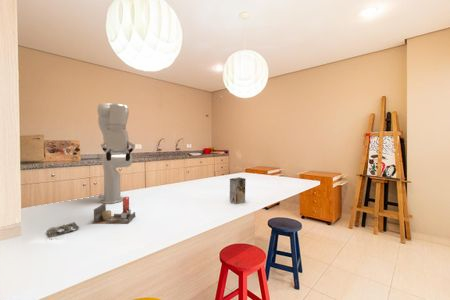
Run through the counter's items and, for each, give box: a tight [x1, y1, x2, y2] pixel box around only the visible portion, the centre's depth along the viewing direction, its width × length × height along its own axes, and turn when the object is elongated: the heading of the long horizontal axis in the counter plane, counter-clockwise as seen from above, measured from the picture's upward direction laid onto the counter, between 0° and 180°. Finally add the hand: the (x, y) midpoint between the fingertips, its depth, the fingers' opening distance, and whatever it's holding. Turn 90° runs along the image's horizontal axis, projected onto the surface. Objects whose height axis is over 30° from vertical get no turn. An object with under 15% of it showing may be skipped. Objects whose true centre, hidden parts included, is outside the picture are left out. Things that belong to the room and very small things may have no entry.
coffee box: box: [229, 177, 246, 205], centre depth 144 cm, size 9×6×16 cm
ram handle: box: [120, 196, 132, 219], centre depth 106 cm, size 3×5×11 cm, turn 2°
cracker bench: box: [91, 203, 137, 225], centre depth 106 cm, size 17×10×8 cm, turn 92°
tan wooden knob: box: [102, 209, 112, 221], centre depth 106 cm, size 4×4×4 cm
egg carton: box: [46, 221, 80, 238], centre depth 92 cm, size 11×8×4 cm
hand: (118, 160), depth 112 cm, fingers open, 9 cm apart
